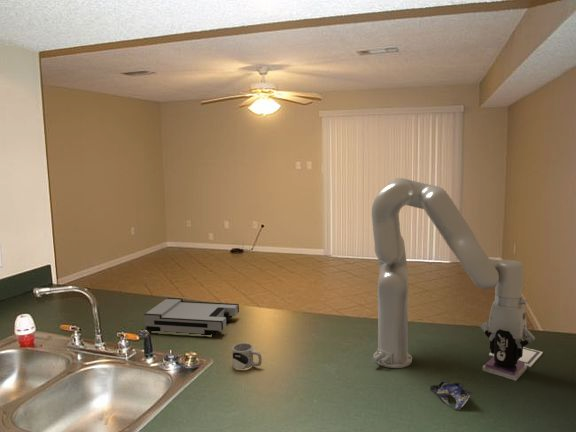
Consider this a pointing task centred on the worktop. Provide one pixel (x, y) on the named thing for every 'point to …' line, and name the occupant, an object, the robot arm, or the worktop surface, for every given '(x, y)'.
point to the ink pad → (505, 369)
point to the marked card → (528, 356)
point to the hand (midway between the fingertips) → (505, 354)
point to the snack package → (452, 393)
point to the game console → (189, 316)
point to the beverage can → (504, 348)
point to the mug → (244, 356)
